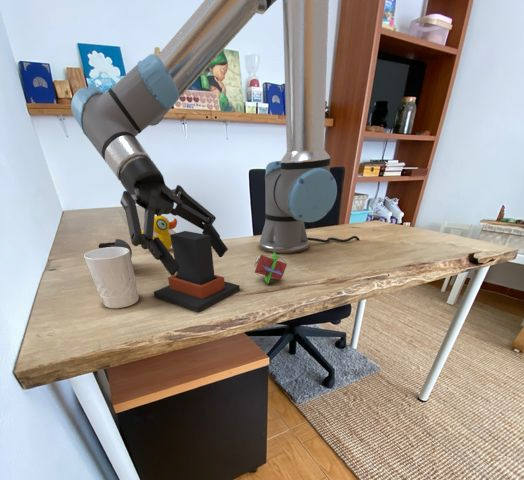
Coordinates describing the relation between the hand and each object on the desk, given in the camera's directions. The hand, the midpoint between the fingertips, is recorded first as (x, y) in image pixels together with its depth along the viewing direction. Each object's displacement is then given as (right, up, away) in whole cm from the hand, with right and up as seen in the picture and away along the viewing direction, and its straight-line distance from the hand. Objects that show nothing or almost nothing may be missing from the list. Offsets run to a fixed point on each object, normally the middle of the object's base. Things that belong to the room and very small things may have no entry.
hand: (201, 261), depth 58 cm
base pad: (-2, -5, +5) cm, 8 cm away
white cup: (-17, -8, +2) cm, 19 cm away
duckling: (-19, +13, +33) cm, 40 cm away
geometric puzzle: (+14, -1, +11) cm, 18 cm away
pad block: (-2, -4, +5) cm, 7 cm away
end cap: (-25, +3, +18) cm, 31 cm away
